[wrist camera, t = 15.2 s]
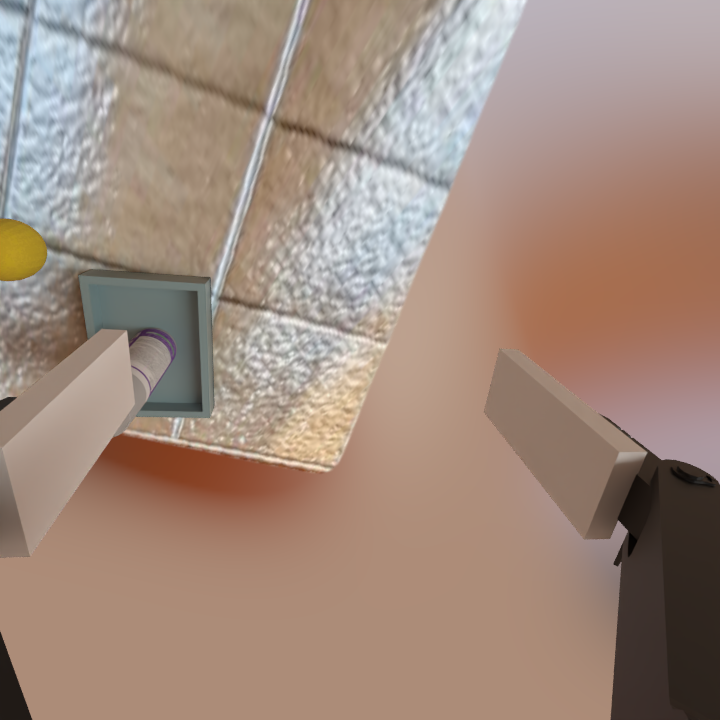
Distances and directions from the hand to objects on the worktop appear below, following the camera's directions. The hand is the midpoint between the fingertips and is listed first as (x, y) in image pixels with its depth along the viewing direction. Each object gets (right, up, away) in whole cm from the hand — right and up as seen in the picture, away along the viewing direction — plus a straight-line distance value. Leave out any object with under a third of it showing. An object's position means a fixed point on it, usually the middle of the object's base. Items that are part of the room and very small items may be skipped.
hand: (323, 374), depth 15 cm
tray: (-22, +2, +34) cm, 40 cm away
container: (-22, +2, +33) cm, 40 cm away
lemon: (-32, +12, +28) cm, 44 cm away
